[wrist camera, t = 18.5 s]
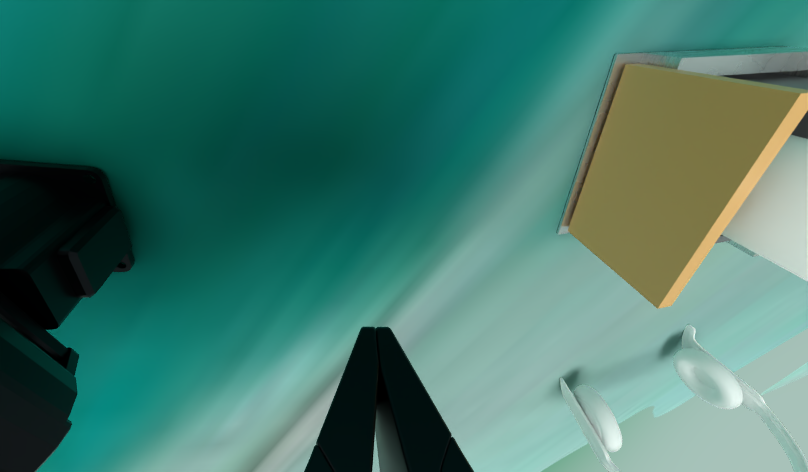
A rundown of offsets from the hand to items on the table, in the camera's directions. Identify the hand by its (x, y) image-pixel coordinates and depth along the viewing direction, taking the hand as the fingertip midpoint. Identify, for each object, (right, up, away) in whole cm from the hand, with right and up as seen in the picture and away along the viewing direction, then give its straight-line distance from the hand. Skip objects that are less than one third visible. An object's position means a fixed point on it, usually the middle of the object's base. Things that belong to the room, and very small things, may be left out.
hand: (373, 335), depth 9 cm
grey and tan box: (+20, +9, +14) cm, 26 cm away
